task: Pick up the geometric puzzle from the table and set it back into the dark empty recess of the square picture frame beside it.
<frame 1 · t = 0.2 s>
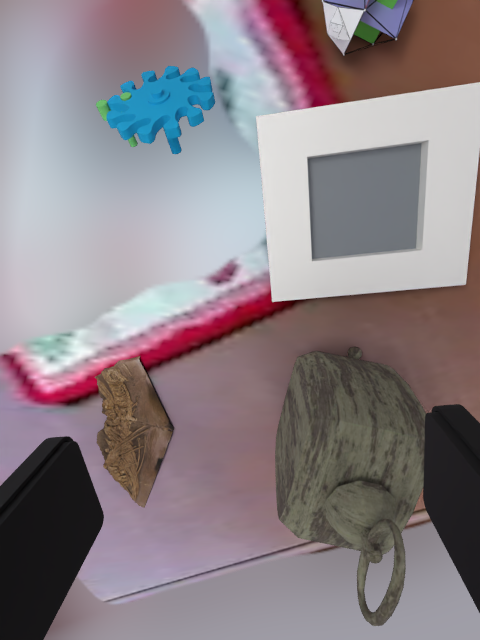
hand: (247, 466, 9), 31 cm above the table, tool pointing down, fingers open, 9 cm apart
gear: (167, 115, 34), on the table
tabletop clock: (319, 382, 42), on the table
geometric puzzle: (358, 19, 30), on the table
square picture frame: (359, 204, 35), on the table
wooden fragment: (136, 435, 48), on the table
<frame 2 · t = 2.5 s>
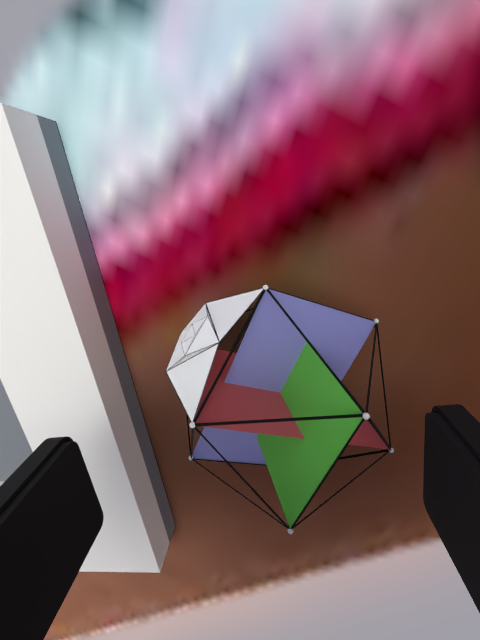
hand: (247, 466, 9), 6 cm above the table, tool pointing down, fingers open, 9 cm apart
geometric puzzle: (280, 349, 14), on the table
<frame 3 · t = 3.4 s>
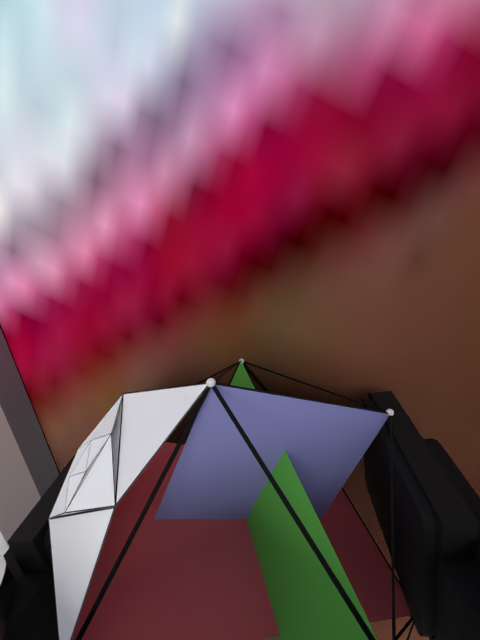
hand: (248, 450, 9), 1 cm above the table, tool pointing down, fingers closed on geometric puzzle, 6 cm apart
geometric puzzle: (253, 424, 11), on the table, touching gripper
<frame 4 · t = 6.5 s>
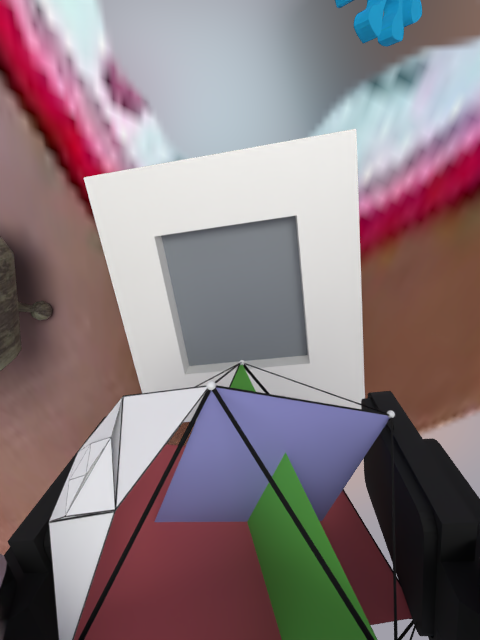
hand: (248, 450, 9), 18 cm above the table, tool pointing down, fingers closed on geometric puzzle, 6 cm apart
geometric puzzle: (253, 425, 11), point 17 cm above the table, touching gripper
square picture frame: (238, 294, 27), on the table
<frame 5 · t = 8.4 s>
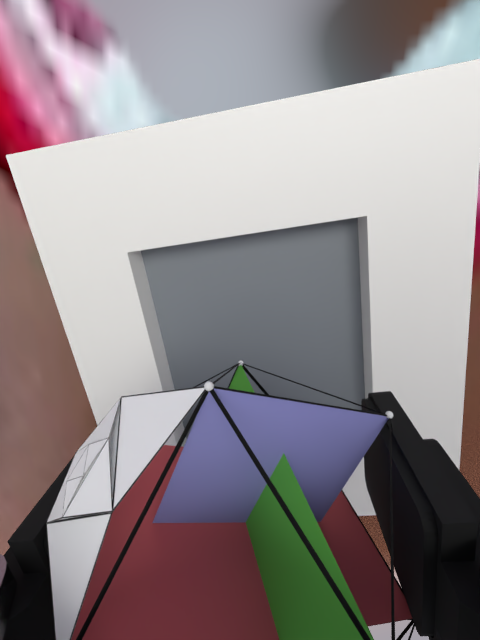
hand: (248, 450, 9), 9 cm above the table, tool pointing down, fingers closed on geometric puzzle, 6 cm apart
geometric puzzle: (252, 426, 11), point 8 cm above the table, touching gripper
square picture frame: (260, 336, 18), on the table
when the fingers open (3 cm above the table, at t = 9.9 s): geometric puzzle drops 2 cm, resting on square picture frame.
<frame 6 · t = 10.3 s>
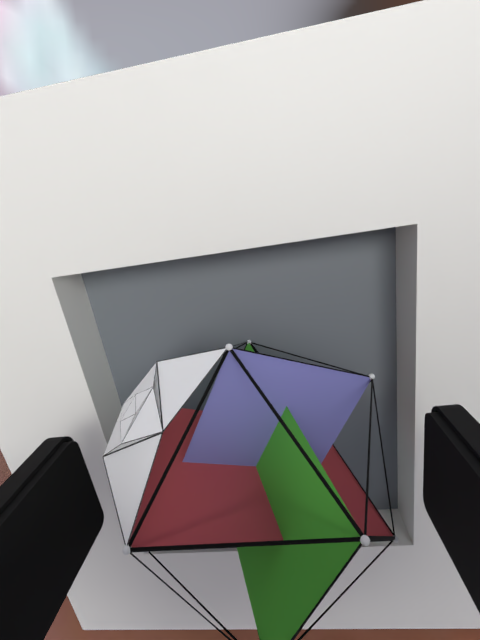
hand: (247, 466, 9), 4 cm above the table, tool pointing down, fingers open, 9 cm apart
geometric puzzle: (259, 398, 12), point 1 cm above the table, touching square picture frame
square picture frame: (253, 385, 13), on the table
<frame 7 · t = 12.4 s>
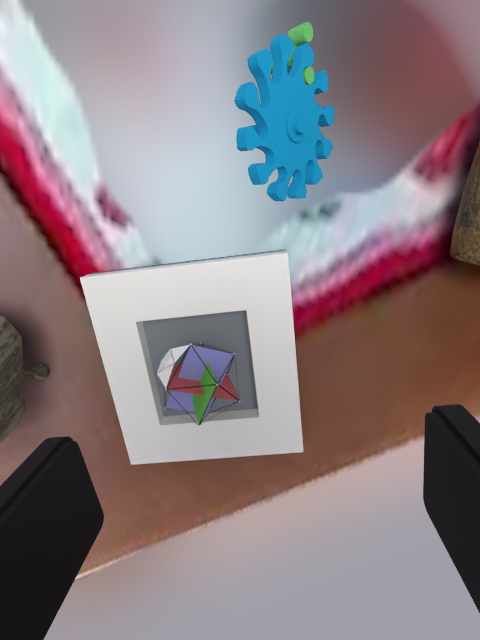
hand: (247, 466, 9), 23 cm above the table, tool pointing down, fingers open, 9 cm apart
gear: (285, 131, 27), on the table
geometric puzzle: (205, 364, 33), point 1 cm above the table, touching square picture frame
square picture frame: (204, 360, 33), on the table
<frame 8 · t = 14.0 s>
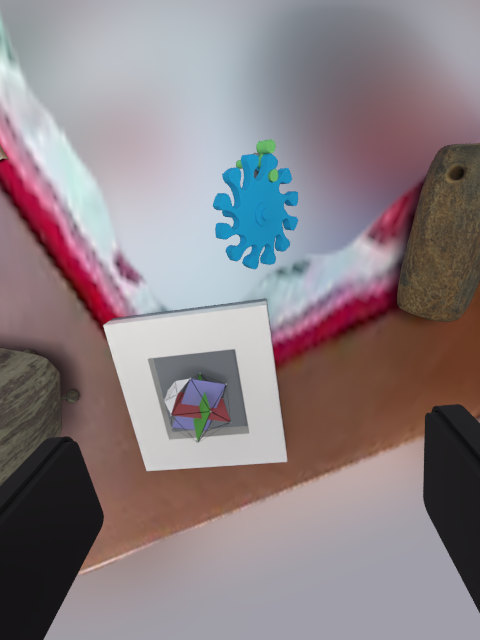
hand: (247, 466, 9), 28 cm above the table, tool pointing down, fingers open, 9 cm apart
gear: (260, 207, 34), on the table
stone weight: (430, 234, 33), on the table
tabletop clock: (35, 366, 42), on the table
geometric puzzle: (204, 390, 40), point 1 cm above the table, touching square picture frame
square picture frame: (203, 386, 41), on the table
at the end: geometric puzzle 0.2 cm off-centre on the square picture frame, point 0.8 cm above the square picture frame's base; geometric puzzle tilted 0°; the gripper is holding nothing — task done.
